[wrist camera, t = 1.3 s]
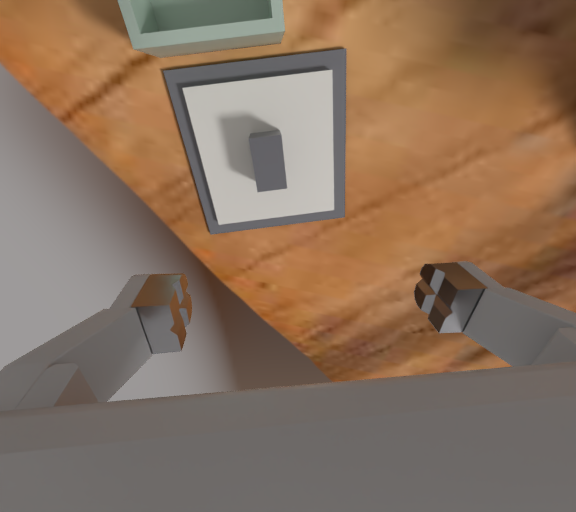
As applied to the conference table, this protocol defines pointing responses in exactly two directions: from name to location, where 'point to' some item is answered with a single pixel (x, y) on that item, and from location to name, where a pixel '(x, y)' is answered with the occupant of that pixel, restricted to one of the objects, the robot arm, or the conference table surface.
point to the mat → (258, 70)
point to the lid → (266, 145)
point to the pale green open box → (201, 25)
